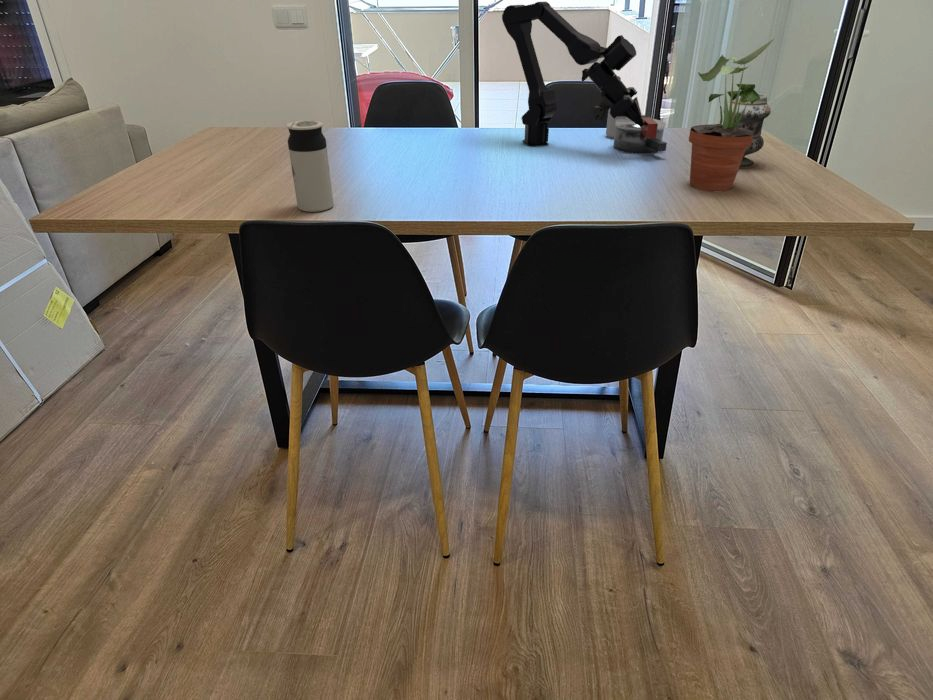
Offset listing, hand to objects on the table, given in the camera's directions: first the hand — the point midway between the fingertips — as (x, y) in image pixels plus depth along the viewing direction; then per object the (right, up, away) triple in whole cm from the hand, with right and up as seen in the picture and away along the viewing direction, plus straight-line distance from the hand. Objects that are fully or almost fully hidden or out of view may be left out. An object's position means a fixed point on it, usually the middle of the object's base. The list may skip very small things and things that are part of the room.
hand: (642, 125), depth 169 cm
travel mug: (-84, -31, -33) cm, 95 cm away
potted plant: (+11, -22, -19) cm, 31 cm away
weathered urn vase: (+25, -11, -2) cm, 28 cm away
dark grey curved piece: (+3, -3, +12) cm, 12 cm away
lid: (+2, +2, +8) cm, 8 cm away
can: (-1, +6, +26) cm, 27 cm away
